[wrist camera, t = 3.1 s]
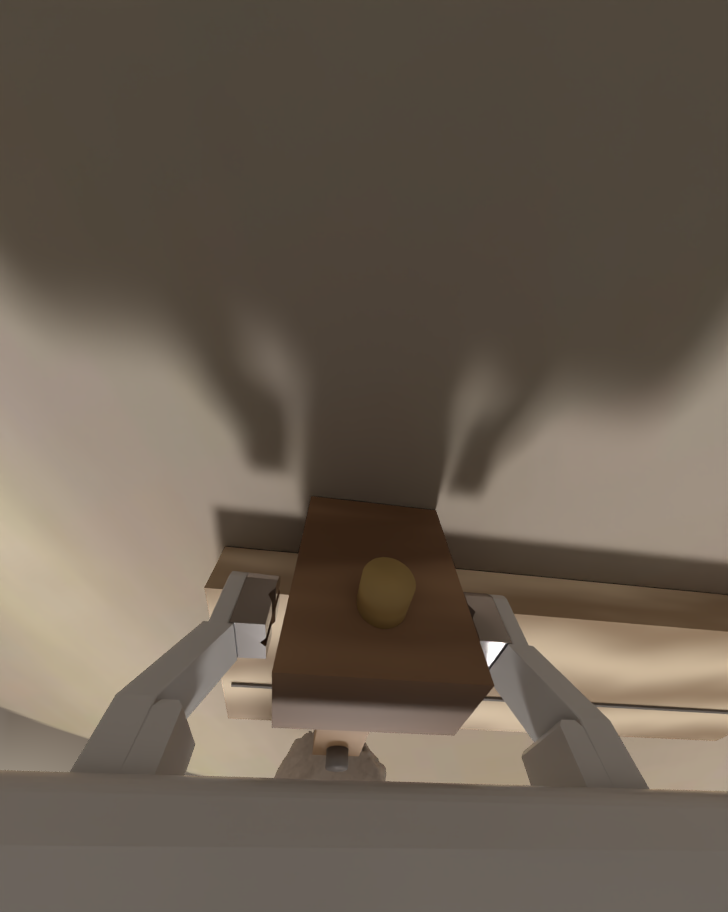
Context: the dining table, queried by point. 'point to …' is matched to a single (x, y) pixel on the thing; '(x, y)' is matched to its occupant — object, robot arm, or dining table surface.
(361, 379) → the dining table surface
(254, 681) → the board
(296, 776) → the stone tool
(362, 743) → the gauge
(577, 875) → the robot arm
